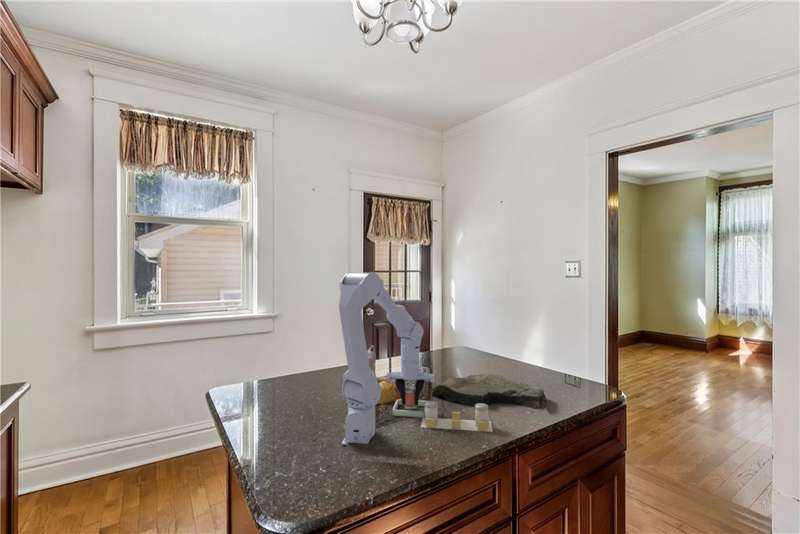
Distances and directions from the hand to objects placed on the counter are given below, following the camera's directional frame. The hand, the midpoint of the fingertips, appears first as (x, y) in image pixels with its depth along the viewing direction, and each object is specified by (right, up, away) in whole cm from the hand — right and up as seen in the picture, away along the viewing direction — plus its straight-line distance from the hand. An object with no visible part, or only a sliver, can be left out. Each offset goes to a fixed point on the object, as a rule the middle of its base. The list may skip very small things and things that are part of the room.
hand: (410, 403), depth 116 cm
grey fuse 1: (+6, -2, -9) cm, 11 cm away
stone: (+26, -3, +12) cm, 29 cm away
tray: (0, -3, 0) cm, 3 cm away
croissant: (-9, -3, +11) cm, 15 cm away
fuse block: (+13, -3, -10) cm, 16 cm away
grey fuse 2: (+19, -2, -11) cm, 23 cm away
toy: (-16, -3, +31) cm, 35 cm away
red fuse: (0, -1, 0) cm, 1 cm away
